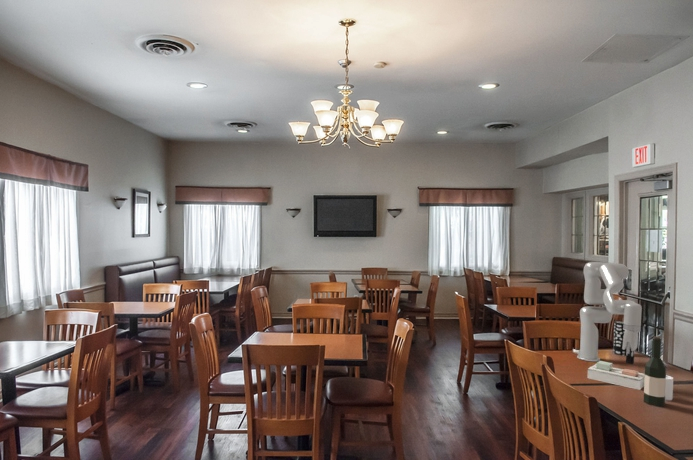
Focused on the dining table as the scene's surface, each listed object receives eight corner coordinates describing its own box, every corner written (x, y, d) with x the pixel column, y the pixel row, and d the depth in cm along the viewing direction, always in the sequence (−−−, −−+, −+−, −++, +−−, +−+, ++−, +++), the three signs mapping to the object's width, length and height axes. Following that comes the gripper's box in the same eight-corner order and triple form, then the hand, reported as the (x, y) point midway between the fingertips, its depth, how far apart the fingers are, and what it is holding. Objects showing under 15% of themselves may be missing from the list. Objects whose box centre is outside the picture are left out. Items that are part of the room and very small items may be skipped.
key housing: (587, 378, 253) (587, 368, 253) (595, 372, 263) (596, 363, 263) (639, 390, 236) (640, 379, 236) (646, 383, 246) (646, 374, 246)
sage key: (596, 368, 253) (596, 362, 253) (599, 366, 258) (600, 360, 258) (608, 371, 249) (609, 365, 249) (612, 368, 254) (612, 363, 254)
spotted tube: (624, 352, 310) (625, 321, 310) (630, 356, 302) (631, 324, 302) (610, 351, 311) (611, 320, 311) (616, 355, 303) (617, 323, 302)
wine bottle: (662, 401, 221) (664, 336, 221) (667, 407, 213) (670, 339, 213) (641, 398, 224) (643, 334, 223) (645, 404, 216) (648, 337, 215)
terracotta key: (621, 376, 245) (622, 370, 245) (624, 374, 250) (625, 368, 250) (635, 379, 241) (635, 373, 241) (638, 377, 245) (638, 371, 245)
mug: (674, 401, 221) (675, 380, 221) (652, 398, 225) (653, 377, 224) (668, 393, 232) (669, 373, 232) (647, 390, 236) (648, 370, 236)
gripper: (627, 324, 253) (625, 358, 254) (619, 328, 242) (617, 364, 243) (643, 326, 248) (641, 362, 249) (636, 331, 237) (634, 368, 238)
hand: (629, 363), depth 246 cm, fingers closed
